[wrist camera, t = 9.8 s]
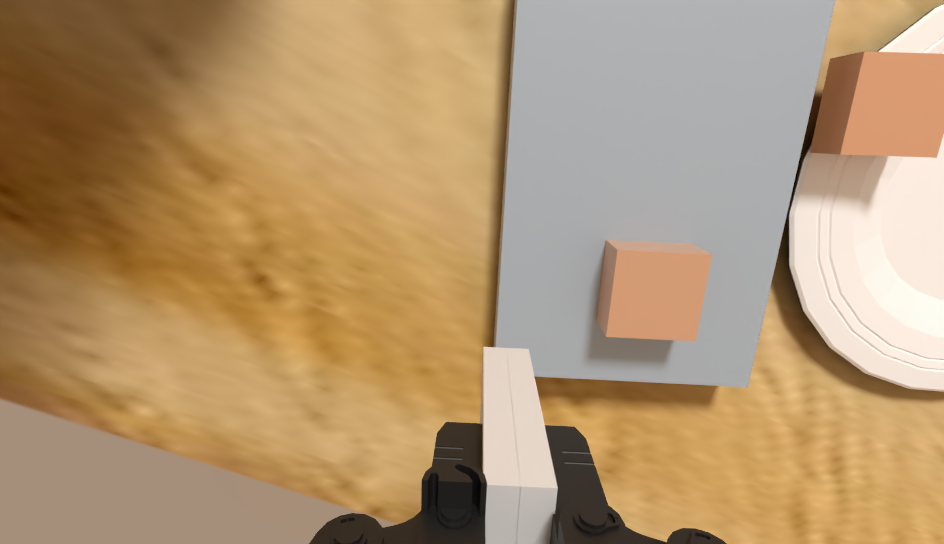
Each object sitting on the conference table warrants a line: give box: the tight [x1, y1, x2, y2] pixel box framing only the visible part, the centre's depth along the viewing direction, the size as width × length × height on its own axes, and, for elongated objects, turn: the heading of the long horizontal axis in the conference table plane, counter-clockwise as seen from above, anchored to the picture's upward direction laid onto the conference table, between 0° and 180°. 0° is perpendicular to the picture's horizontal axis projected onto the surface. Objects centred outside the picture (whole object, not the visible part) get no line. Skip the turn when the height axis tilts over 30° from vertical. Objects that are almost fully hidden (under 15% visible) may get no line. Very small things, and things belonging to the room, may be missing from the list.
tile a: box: [810, 51, 944, 158], centre depth 26 cm, size 5×5×2 cm
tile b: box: [596, 240, 712, 341], centre depth 28 cm, size 5×5×2 cm
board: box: [493, 0, 835, 387], centre depth 29 cm, size 16×24×3 cm, turn 178°
